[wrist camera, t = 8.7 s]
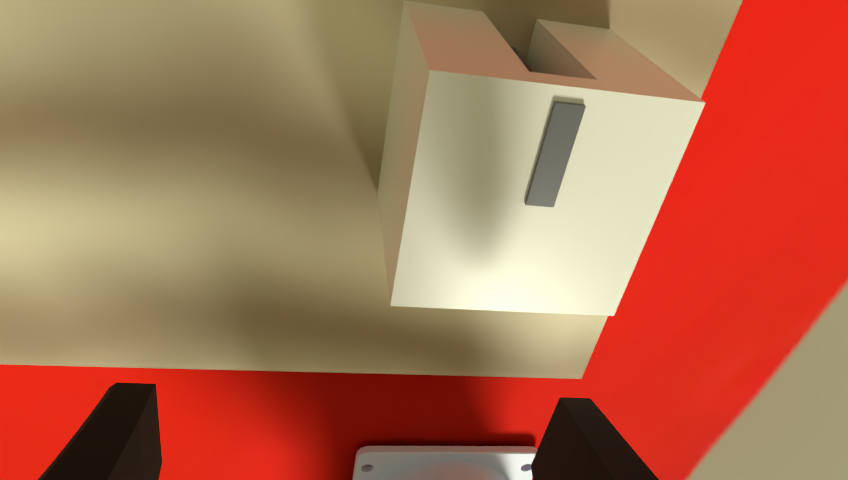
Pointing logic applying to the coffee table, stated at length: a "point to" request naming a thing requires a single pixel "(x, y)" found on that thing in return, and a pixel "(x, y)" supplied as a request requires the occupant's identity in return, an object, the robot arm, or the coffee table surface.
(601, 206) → the slotted white block
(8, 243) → the board
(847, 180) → the coffee table surface
